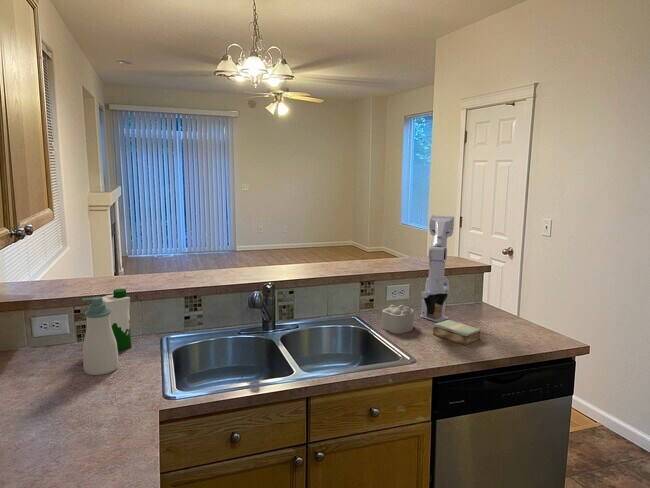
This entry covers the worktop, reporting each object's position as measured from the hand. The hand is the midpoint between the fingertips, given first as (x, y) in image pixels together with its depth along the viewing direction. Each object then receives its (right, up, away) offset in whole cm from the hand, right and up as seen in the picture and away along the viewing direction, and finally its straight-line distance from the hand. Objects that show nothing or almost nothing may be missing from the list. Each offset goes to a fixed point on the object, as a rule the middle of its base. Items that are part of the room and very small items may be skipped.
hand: (434, 312), depth 176 cm
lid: (+8, -6, -1) cm, 10 cm away
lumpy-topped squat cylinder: (-12, -8, +9) cm, 17 cm away
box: (+8, -9, 0) cm, 12 cm away
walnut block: (0, -2, 0) cm, 2 cm away
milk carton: (-114, -10, -17) cm, 116 cm away
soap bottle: (-111, -13, -34) cm, 117 cm away
